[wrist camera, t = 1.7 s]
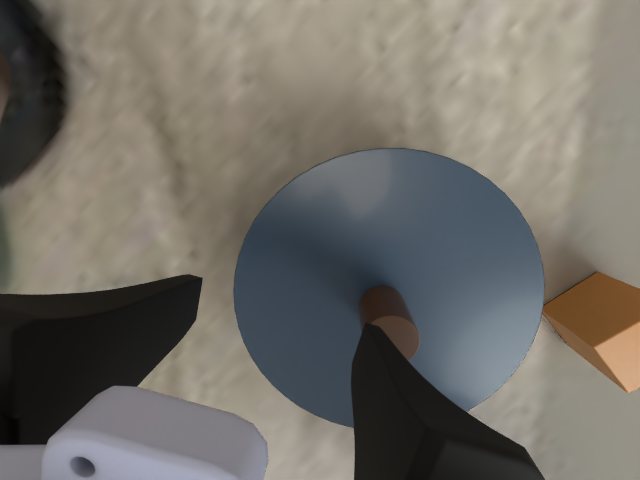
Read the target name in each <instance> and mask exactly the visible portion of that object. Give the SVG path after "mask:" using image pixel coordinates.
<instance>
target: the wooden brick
mask: <svg viewBox="0 0 640 480" xmlns="http://www.w3.org/2000/svg"><path fill="white" fill-rule="evenodd" d="M542 313H543V314H544V315H545V316H546V318H547V319H548V320H549V322H550V323H551V324H552V325H553V327H554V328H555V329H556V331H557V332H558V333H559V334H560V336H561V337H562V338H563V340H564V341H565V342H566V343H567V345H568V346H569V347H571V348H572V349H573V350H574V351H576V352H577V353H578V354H579V355H581V356H582V357H583V358H584V359H586V360H587V361H588V362H589V363H591V364H592V365H593V366H594V367H596V368H597V369H598V370H599V371H601V372H602V373H603V374H604V375H606V376H607V377H608V378H609V379H611V380H612V381H613V382H614V383H616V384H617V385H618V386H619V387H621V388H622V389H623V390H624V391H626V392H627V393H631V392H633V391H634V390H636V389H638V388H640V289H639V288H636V287H634V286H631V285H629V284H626V283H624V282H622V281H619V280H617V279H614V278H612V277H610V276H607V275H605V274H602V273H600V272H597V273H595V274H593V275H592V276H590V277H589V278H587V279H585V280H584V281H582V282H581V283H579V284H577V285H576V286H574V287H573V288H571V289H569V290H568V291H566V292H565V293H563V294H561V295H560V296H558V297H556V298H555V299H553V300H552V301H550V302H548V303H547V304H545V305H544V306H543V310H542Z"/></svg>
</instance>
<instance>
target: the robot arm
mask: <svg viewBox="0 0 640 480" xmlns="http://www.w3.org/2000/svg"><path fill="white" fill-rule="evenodd" d="M202 279H203V278H201V277H197V276H193V275H190V274H188V275H180V276H175V277H171V278H166V279H162V280H158V281H153V282H149V283H144V284H139V285H134V286H129V287H124V288H118V289H112V290H105V291H96V292H86V293H70V294H51V295H21V294H0V480H264V476H265V472H266V468H267V464H268V449H267V442H266V440H265V439H264V438H263V436H262V435H261V434H260V432H259V431H258V429H257V428H256V427H255V425H254V424H252V423H251V422H249V421H247V420H245V419H243V418H241V417H239V416H237V415H235V414H233V413H229V412H226V411H222V410H219V409H215V408H211V407H208V406H204V405H201V404H197V403H194V402H190V401H187V400H183V399H179V398H176V397H172V396H169V395H165V394H162V393H158V392H154V391H151V390H147V389H144V388H140V387H137V386H138V385H139V384H140V383H141V382H142V381H143V379H144V378H145V377H146V376H147V375H148V374H149V373H150V372H151V371H152V370H153V369H154V368H155V367H156V366H157V365H158V364H159V363H160V362H161V361H162V360H163V358H164V357H165V356H166V355H167V354H168V353H169V352H170V351H171V350H172V349H173V348H174V347H175V346H176V345H177V344H178V343H179V342H180V341H181V339H182V338H183V337H184V336H185V334H186V333H187V332H188V330H189V329H190V328H191V326H192V325H193V323H194V322H195V320H196V316H197V310H198V304H199V298H200V292H201V286H202ZM351 396H352V409H353V422H354V435H355V472H354V480H545V479H544V477H543V476H542V474H541V472H540V471H539V469H538V468H537V466H536V465H535V463H534V461H533V460H532V458H531V457H530V455H529V454H528V452H527V450H526V449H525V448H524V447H523V446H521V445H519V444H517V443H516V442H514V441H512V440H510V439H509V438H507V437H505V436H503V435H502V434H500V433H498V432H496V431H495V430H493V429H491V428H490V427H488V426H486V425H485V424H483V423H482V422H480V421H479V420H477V419H476V418H474V417H473V416H471V415H470V414H468V413H467V412H466V411H464V410H463V409H461V408H460V407H459V406H457V405H456V404H455V403H453V402H452V401H451V400H450V399H448V398H447V397H446V396H444V395H443V394H442V393H441V392H440V391H438V390H437V389H436V388H435V387H434V386H433V385H432V384H431V383H430V382H428V381H427V380H426V379H425V378H424V377H423V376H422V375H421V374H420V373H419V372H418V371H417V370H416V369H415V368H414V367H413V366H412V365H411V363H410V362H409V361H408V360H407V359H406V358H405V357H404V356H403V354H402V353H401V352H400V351H399V350H398V348H397V347H396V346H395V345H394V343H393V342H392V341H391V340H390V338H389V337H388V336H387V335H386V333H385V332H384V331H383V330H382V329H381V327H380V326H377V325H373V324H369V323H366V322H365V325H364V328H363V331H362V334H361V337H360V340H359V343H358V346H357V349H356V352H355V355H354V358H353V361H352V370H351Z"/></svg>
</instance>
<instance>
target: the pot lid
mask: <svg viewBox="0 0 640 480" xmlns="http://www.w3.org/2000/svg"><path fill="white" fill-rule="evenodd" d="M544 289H545V283H544V272H543V264H542V260H541V256H540V252H539V249H538V245H537V243H536V241H535V238H534V236H533V234H532V231H531V229H530V227H529V225H528V223H527V222H526V220H525V219H524V217H523V216H522V214H521V212H520V211H519V209H518V208H517V207H516V206H515V205H514V203H513V202H512V201H511V200H510V199H509V198H508V196H507V195H506V194H505V193H504V192H503V191H502V190H500V189H499V188H498V187H497V186H496V185H495V184H493V183H492V182H491V181H490V180H489V179H488V178H486V177H484V176H483V175H481V174H480V173H478V172H476V171H475V170H473V169H472V168H470V167H468V166H466V165H464V164H461V163H459V162H457V161H455V160H452V159H450V158H448V157H444V156H441V155H437V154H434V153H430V152H427V151H420V150H413V149H405V148H378V149H370V150H362V151H356V152H353V153H349V154H345V155H342V156H338V157H335V158H332V159H330V160H328V161H325V162H323V163H321V164H318V165H316V166H314V167H312V168H311V169H309V170H307V171H305V172H304V173H302V174H300V175H299V176H297V177H296V178H294V179H293V180H292V181H291V182H289V183H288V184H287V185H286V186H284V187H283V188H282V189H280V190H279V191H278V192H277V194H276V195H275V196H274V197H273V198H272V199H271V200H270V201H269V202H268V203H267V204H266V205H265V206H264V208H263V209H262V211H261V212H260V213H259V215H258V216H257V217H256V219H255V220H254V222H253V224H252V226H251V228H250V229H249V231H248V233H247V235H246V237H245V239H244V242H243V245H242V247H241V250H240V253H239V256H238V261H237V265H236V270H235V277H234V306H235V313H236V318H237V323H238V327H239V330H240V333H241V336H242V338H243V341H244V344H245V346H246V348H247V350H248V352H249V354H250V356H251V358H252V359H253V361H254V362H255V364H256V365H257V366H258V368H259V369H260V371H261V372H262V373H263V375H264V376H265V377H266V378H267V379H268V380H269V382H270V383H271V384H272V385H273V386H274V387H275V388H276V389H278V390H279V391H280V392H281V393H282V394H283V395H284V396H285V397H287V398H288V399H289V400H291V401H292V402H294V403H295V404H297V405H298V406H299V407H301V408H303V409H305V410H307V411H308V412H310V413H312V414H314V415H316V416H318V417H321V418H323V419H326V420H328V421H330V422H333V423H337V424H340V425H344V426H347V427H352V428H354V422H353V409H352V396H351V370H352V361H353V358H354V355H355V352H356V349H357V346H358V343H359V340H360V337H361V334H362V331H363V328H364V325H365V322H366V323H369V324H373V325H377V326H380V327H381V329H382V330H383V331H384V332H385V333H386V335H387V336H388V337H389V338H390V340H391V341H392V342H393V343H394V345H395V346H396V347H397V348H398V350H399V351H400V352H401V353H402V354H403V356H404V357H405V358H406V359H407V360H408V361H409V362H410V363H411V365H412V366H413V367H414V368H415V369H416V370H417V371H418V372H419V373H420V374H421V375H422V376H423V377H424V378H425V379H426V380H427V381H428V382H430V383H431V384H432V385H433V386H434V387H435V388H436V389H437V390H438V391H440V392H441V393H442V394H443V395H444V396H446V397H447V398H448V399H450V400H451V401H452V402H453V403H455V404H456V405H457V406H459V407H460V408H461V409H463V410H464V411H468V410H470V409H472V408H473V407H475V406H476V405H478V404H479V403H481V402H482V401H484V400H485V399H487V398H488V397H489V396H490V395H492V394H493V393H494V392H495V391H496V390H498V389H499V388H500V387H501V386H502V385H503V384H504V383H505V382H506V381H507V380H508V379H509V377H510V376H511V375H512V374H513V373H514V372H515V370H516V369H517V368H518V366H519V365H520V363H521V362H522V361H523V359H524V358H525V356H526V354H527V352H528V350H529V348H530V346H531V344H532V343H533V341H534V338H535V335H536V332H537V329H538V327H539V324H540V320H541V315H542V310H543V305H544Z"/></svg>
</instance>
